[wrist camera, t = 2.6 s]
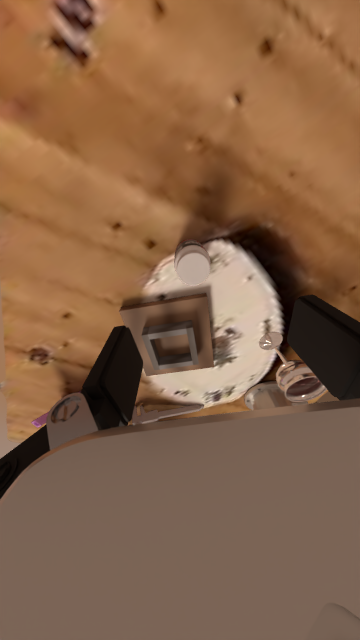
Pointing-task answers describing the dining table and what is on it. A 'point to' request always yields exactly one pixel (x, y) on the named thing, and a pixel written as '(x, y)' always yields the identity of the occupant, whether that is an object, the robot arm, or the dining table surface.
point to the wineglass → (293, 374)
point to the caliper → (161, 414)
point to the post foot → (171, 334)
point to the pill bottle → (192, 262)
